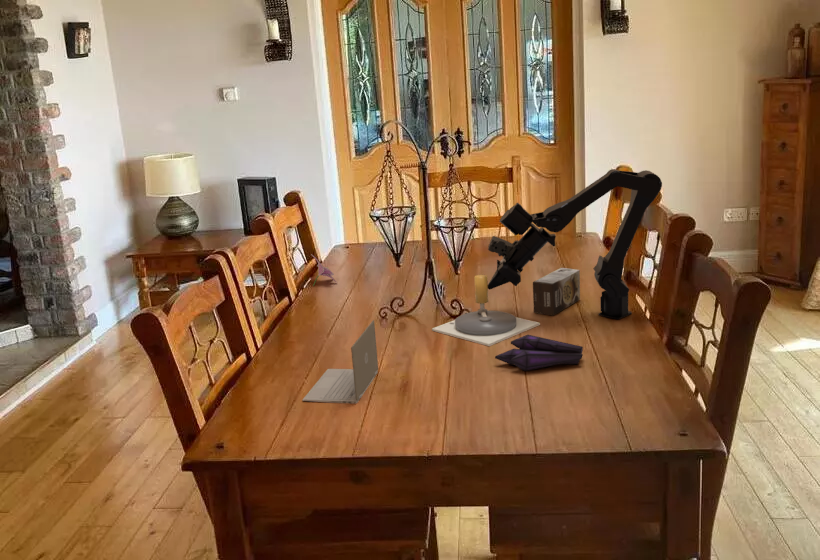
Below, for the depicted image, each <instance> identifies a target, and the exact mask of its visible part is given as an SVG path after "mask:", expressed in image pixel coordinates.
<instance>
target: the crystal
mask: <svg viewBox="0 0 820 560" xmlns="http://www.w3.org/2000/svg"><path fill="white" fill-rule="evenodd" d="M510 345H512V346H514V347H515V348H512V349H509V350H507V351H505V352H502V353H500V354H496V355H495V357H494V359H496V360H497V361H501V362H503V363H506V364H508V365H514V366H516V367H517V368H519V369H520V370H521V371H523V372H526V371H533V370H537V369H542V368H548V367H553V366H558V365H579V363H580V361H581V360H582V358H583V357H584V354H583V346H581V345H577V344H572V343H568V342H564V341H563V342H562V341H559V340H554V339H549V338H546V337H545V338H544V337H541V336H537V335H532V334H526V335H523V336H521V337H518V338H515V339H513V340H511V341H510Z"/></svg>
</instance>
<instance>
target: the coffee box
mask: <svg viewBox="0 0 820 560" xmlns="http://www.w3.org/2000/svg"><path fill="white" fill-rule="evenodd" d="M580 271H581V270H580V269H573V268H566V267H560V268H558V269H556V270H554V271H552V272H550V273H548V274H546V275H544V276H542V277H540V278H538V279H536V280H534V281H533V282H532V293H533V294H532V299H533V301H532V302H533V313H534V314H539V315H545V316H546V315H547V316H555V315H557V314H558V313H560V312H562V311H563V310H565V309H566V308H569V307H570V306H572V305H574V304H575V303H576V302H578V301H580V300H581V287H580V286H581V285H580V284H581V280H580V279H581V278H580V274H581V272H580Z"/></svg>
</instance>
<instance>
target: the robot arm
mask: <svg viewBox="0 0 820 560" xmlns="http://www.w3.org/2000/svg"><path fill="white" fill-rule="evenodd" d="M617 187H619V188H623V189H628V190H631V191H630V201H629V203H628V206H627V209H626V211H625V214H624V216H623V218H622V221H621V223H620V225H619V227H618V230H617V232H616V235H615V237H614V239H613V242H612V244H611V246H610V248H609V251H608V253H606V255H605V256H604V257H603V255H599V256H598V258H597V262H596V264H595V265H594V267H593V270H594V279H595V281H596V282H597V284H598V286H599V287H600V288H601V289H602V290H603V291H601V296H600V297H599V298H600V301H599V302H600V312H598V314H597V315H598V316H601V317H604V318H605V317H606V318H610V319H615V320H621V319H623V318H625V317H628V316H630V315H632V313H633V312H632V311H630V310H629V291H630V288H629V287H628V286H627V284H626V283H625V282H624V280H623V279H622V276H623V272H624V264H625V259H626V256H627V254H628V252H629V249H630V247H631V245H632V242H633V240H634V237H635V235H636V233H637V230H638V228H639V226H640V224H641V221H642V219H643V217H644V214H645V211H646V210H647V209H648V208H649V206H651V204H652V203H653V202H654V201H655V199H656V198H657V196H658V195H659V193H660V191H661V190H662V187H663V182H662V180H661V177H659V175H657V174H656V173H654V172H652V171H650V170H641V171H639V172H637V171H636V172H635V171H627V170H620V169H619V170H618V169H617V168H614V169H613V168H612V169H609V170H608V171H607V172H606V173H605V174H604V175H602V176H601V177H599V178H597V179H596V180H595V181H593V182H592V183H590V184H589V185H588V186H586V187H584V188H583V189H582V190H580V191H578V192H577V193H576V194H575V195H573V196H571V197H570V198H568V199H566V200H564V201H560V202H557V203H555V204H553V205H550V206H549V207H547V208H545V209H544V210H543V211H541V212H536V213H535V212H534V213H531V214H530V213H529V212H528V211H527V210H526V209H525V208H524V207H523V206H522V205H521V204H520V203H519V202H516V203H515V204H514V205H513V206H511V207H510V208H509V209H507V210H506V211H505V212H504V213H503V215H501V218H500V219H499V223H501V224H502V225H503V226H504V227H505V228H506V229H507V230H509V231H510V232H511V233H512V234H513V235H514V236H517V235H518V236H522V237H521V238H520V239H519V240H518V239H517V240H514V241H513V242H510V241H507V240H505V239H503V238H500V237H498V236H495V235H493V236H492V237H491V240H490V242H489V245H488V248H487V250H488V251H489V252H491V253H495V254H497V255H498V256H499V257H501V256H502V259H500V260H499V259H496V270H495V272H494V274H493V275H492V277H491V279H490V280H489V281H488V291H489V290H492V289H495V288H497V287H500V286H502V285H505V284H509V283H510V284H512V285H513V286H514V287H517V286H518V285H519V284H520V283H521V282H522V275H521V273H522V272H523V270H524V267H525V266H526V265H527V264H528V263H529V262H533V260H535V258H534V257H535V256H536V255H537V254H538V253H539V252H540V251H541V249H543V248H544V247H545V246H546V244H547V243H549V244H550V245H551V246H552V247H556V237H557V236H556V234H555V233H559V232H562V231H563V230H564V229H565V228H566V227H567V226H568V225H569V224H570V223H571V222H572V221H573V219H574V218H575V217H576V216H577V215H578V214H579V213H580V212H581V211H583V210H584V209H586V208H587V207H589V206H590V205H592V204H593V203H594V202H596V201H598V200H600V198H602V197H603V196H605V195H606V194H608V193H609V192H611V191H612V190H614V189H615V188H617ZM548 231H549V232H550V233H549V232H548ZM551 233H552V234H551Z"/></svg>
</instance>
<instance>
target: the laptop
mask: <svg viewBox="0 0 820 560" xmlns="http://www.w3.org/2000/svg"><path fill="white" fill-rule="evenodd" d="M350 350H351V360H352V361H351V362H352V368H327V370H325V371H324V373H323V374H322V375H321V376H320V378H319V379H318V380H317V381H316V383H314V385H313V386H312V387H311V388H310V390H309V392H307V394H305V396H304V397H303V398H302V401H303V402H317V403H333V404H358V403H359V401H360V399H362V397H363V396H364V394H365V392H366V391H367V389H369V386H370V385H371V383H372V382H373V380H374V378H375V377H376V375H377V374H378V373H379V360H378V349H377V337H376V327H375V320H374V319H372V321H371V322H370V323H369V325H368V326H367V327H366V328H365V330H364V331H363V332H362V333H361V334H360V336H359V337H358V338H357V339H356V341H355V342H354V343H353V345H352V346H351V347H350Z"/></svg>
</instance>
